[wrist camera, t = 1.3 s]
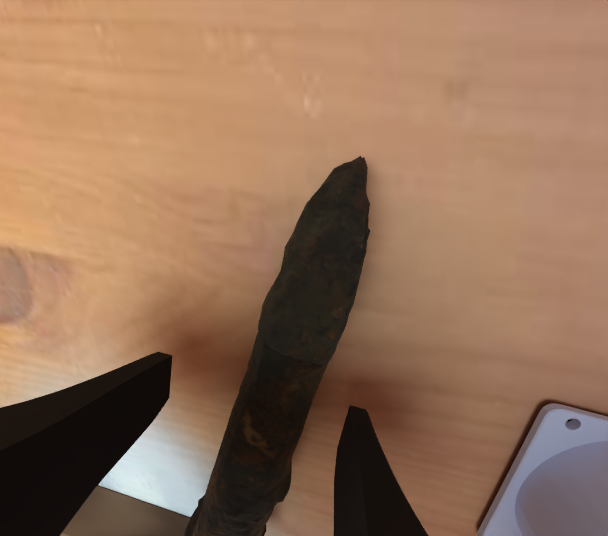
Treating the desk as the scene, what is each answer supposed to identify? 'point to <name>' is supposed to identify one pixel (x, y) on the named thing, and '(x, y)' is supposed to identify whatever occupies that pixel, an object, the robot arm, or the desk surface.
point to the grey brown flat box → (123, 517)
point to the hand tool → (288, 357)
